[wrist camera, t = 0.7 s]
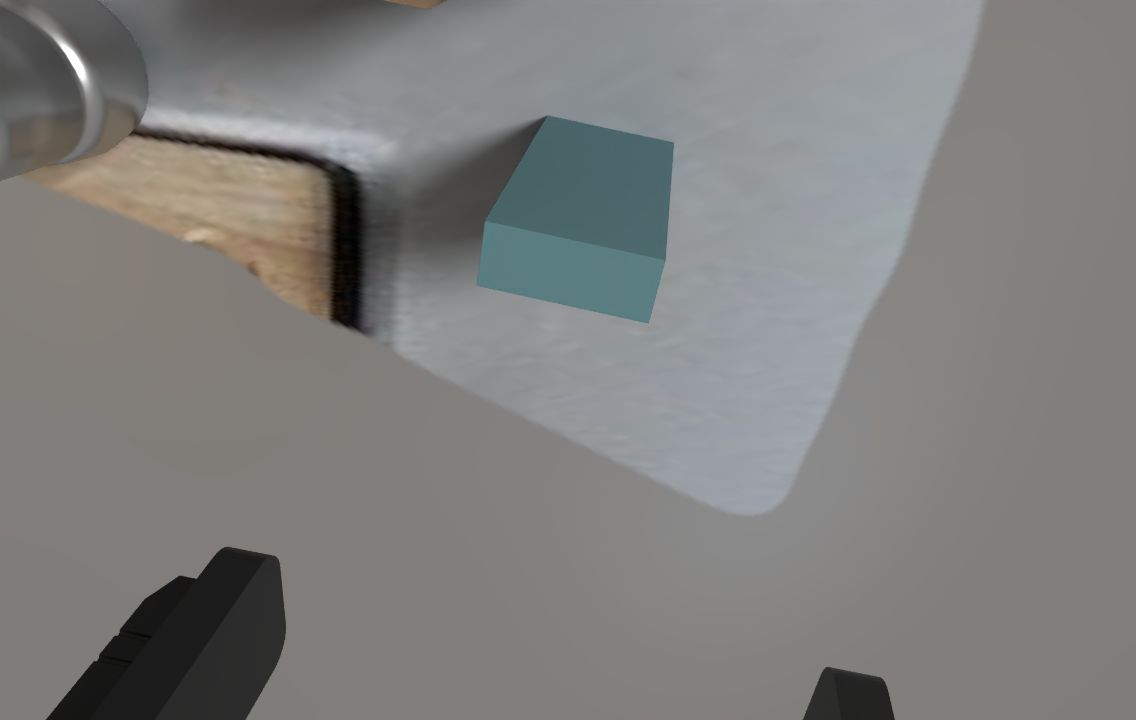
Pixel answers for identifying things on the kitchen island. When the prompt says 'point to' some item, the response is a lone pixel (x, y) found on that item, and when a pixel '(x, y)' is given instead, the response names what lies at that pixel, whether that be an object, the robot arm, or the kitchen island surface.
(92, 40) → the plastic bottle
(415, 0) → the domino
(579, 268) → the tail domino
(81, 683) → the robot arm
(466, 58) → the kitchen island surface
